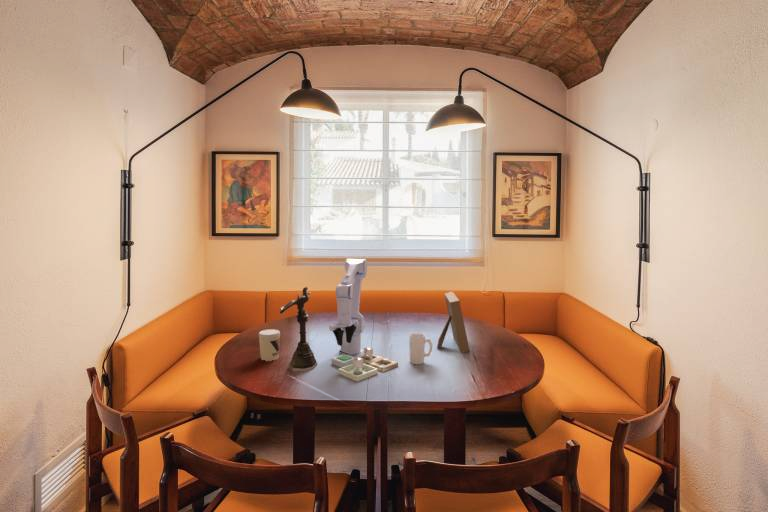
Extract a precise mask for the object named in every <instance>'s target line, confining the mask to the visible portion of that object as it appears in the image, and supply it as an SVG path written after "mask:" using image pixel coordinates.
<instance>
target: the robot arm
mask: <svg viewBox="0 0 768 512" xmlns="http://www.w3.org/2000/svg"><path fill="white" fill-rule="evenodd" d="M344 269H345V274H344V275H343V276H342V277H341V278H342V279H341V281H340V283H339V284H338V285H336V288H335V297H336V300H335V301H336V303H337V322H335V323H334V324H331V325H329V331H331V332H332V333H333V334H334V336H335V340H336V343H337V346H340V348H339V351H340V352H342V353H344V354H347V355H351V356H352V355H356V354H359V353H362V352H364V349H362V345H361V344H362V342H361V341H362V340H361V339H362V338H361V337H362V335H361V334H362V333H363V332H364V330H365V318H364V317H365V316H363V314H361V313H360V303H361V302H360V301H361V291H362V283H363V279H364V278H367V271H368V261H367V258H349V257H347V258H346V259H345V262H344Z"/></svg>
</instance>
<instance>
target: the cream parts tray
mask: <svg viewBox="0 0 768 512" xmlns="http://www.w3.org/2000/svg"><path fill="white" fill-rule="evenodd" d="M354 357H355V358H356V357H361V358H363V363H364V364H366V365H369V366H372V367H374V368H377V369H378V371H380V372H382V373H384V372H386V371H389V370H391V369H394V368H396V367H398V366H399V362H398V361H394V360H391V359H388V358H386V357H382V356H380V355H378V354H374V353H373V359H371V360H365V359H364V353H363V354H359V355H355V356H354ZM383 364H385V365H383Z"/></svg>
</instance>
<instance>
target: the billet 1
mask: <svg viewBox="0 0 768 512" xmlns="http://www.w3.org/2000/svg"><path fill="white" fill-rule="evenodd" d="M355 357H356V356H355ZM353 374H354V375H361V374H363V358H361V357H356V358H353Z"/></svg>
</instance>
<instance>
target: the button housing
mask: <svg viewBox="0 0 768 512" xmlns="http://www.w3.org/2000/svg"><path fill="white" fill-rule="evenodd" d="M341 356H349V360H346V361H341V360H339V357H341ZM355 357H356V356H352V355H350V354H347V353H344V354H341V355H338V356H334V357H331V365H333V366H336V367H339V368H342V367H345V366H348V365H351V364H353V358H355Z"/></svg>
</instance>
